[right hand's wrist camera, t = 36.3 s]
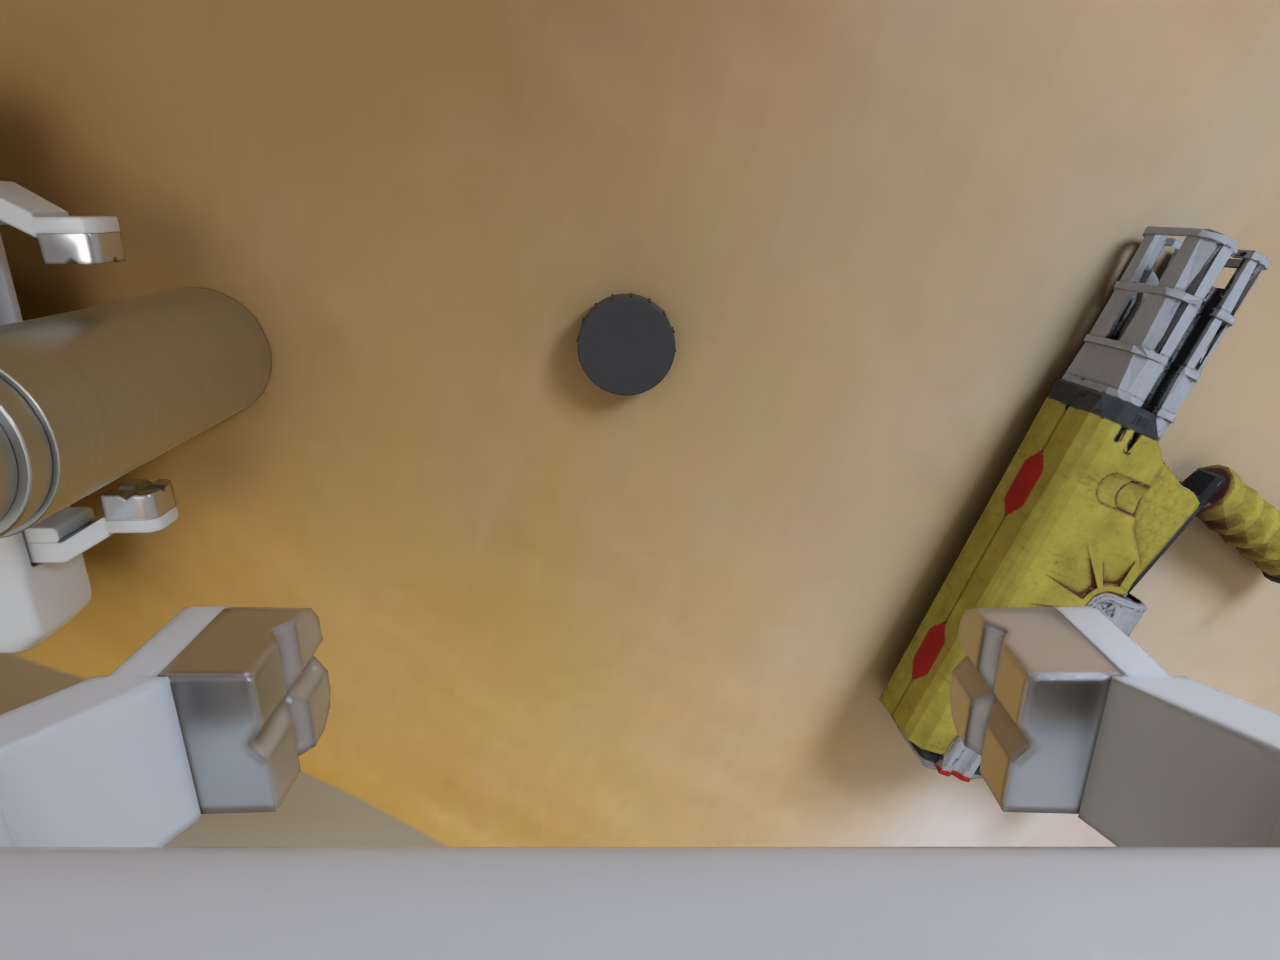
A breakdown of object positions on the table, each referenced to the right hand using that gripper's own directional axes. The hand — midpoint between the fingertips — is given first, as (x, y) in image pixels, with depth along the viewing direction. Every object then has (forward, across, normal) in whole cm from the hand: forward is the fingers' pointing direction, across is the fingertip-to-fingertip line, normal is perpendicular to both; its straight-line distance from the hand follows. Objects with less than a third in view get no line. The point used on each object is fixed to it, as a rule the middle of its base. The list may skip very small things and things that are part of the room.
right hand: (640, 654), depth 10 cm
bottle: (+24, +18, +1) cm, 30 cm away
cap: (+23, 0, 0) cm, 23 cm away
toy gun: (+25, -22, +10) cm, 35 cm away
